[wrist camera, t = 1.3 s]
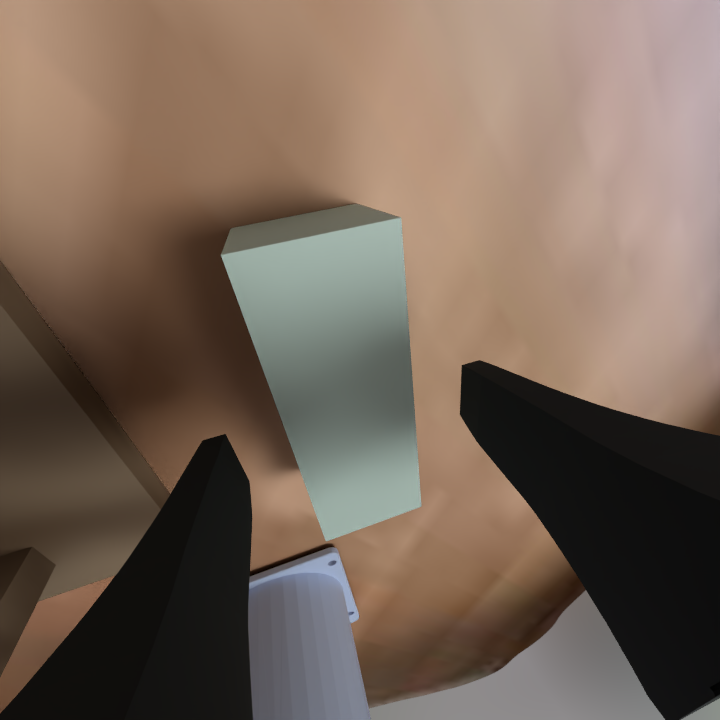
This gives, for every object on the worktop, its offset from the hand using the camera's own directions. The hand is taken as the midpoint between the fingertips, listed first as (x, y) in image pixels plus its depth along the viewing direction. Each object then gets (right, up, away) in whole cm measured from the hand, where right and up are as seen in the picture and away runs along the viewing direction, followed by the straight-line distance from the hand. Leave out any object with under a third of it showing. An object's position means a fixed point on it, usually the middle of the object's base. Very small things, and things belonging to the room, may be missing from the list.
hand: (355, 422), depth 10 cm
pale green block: (-1, +2, +3) cm, 4 cm away
